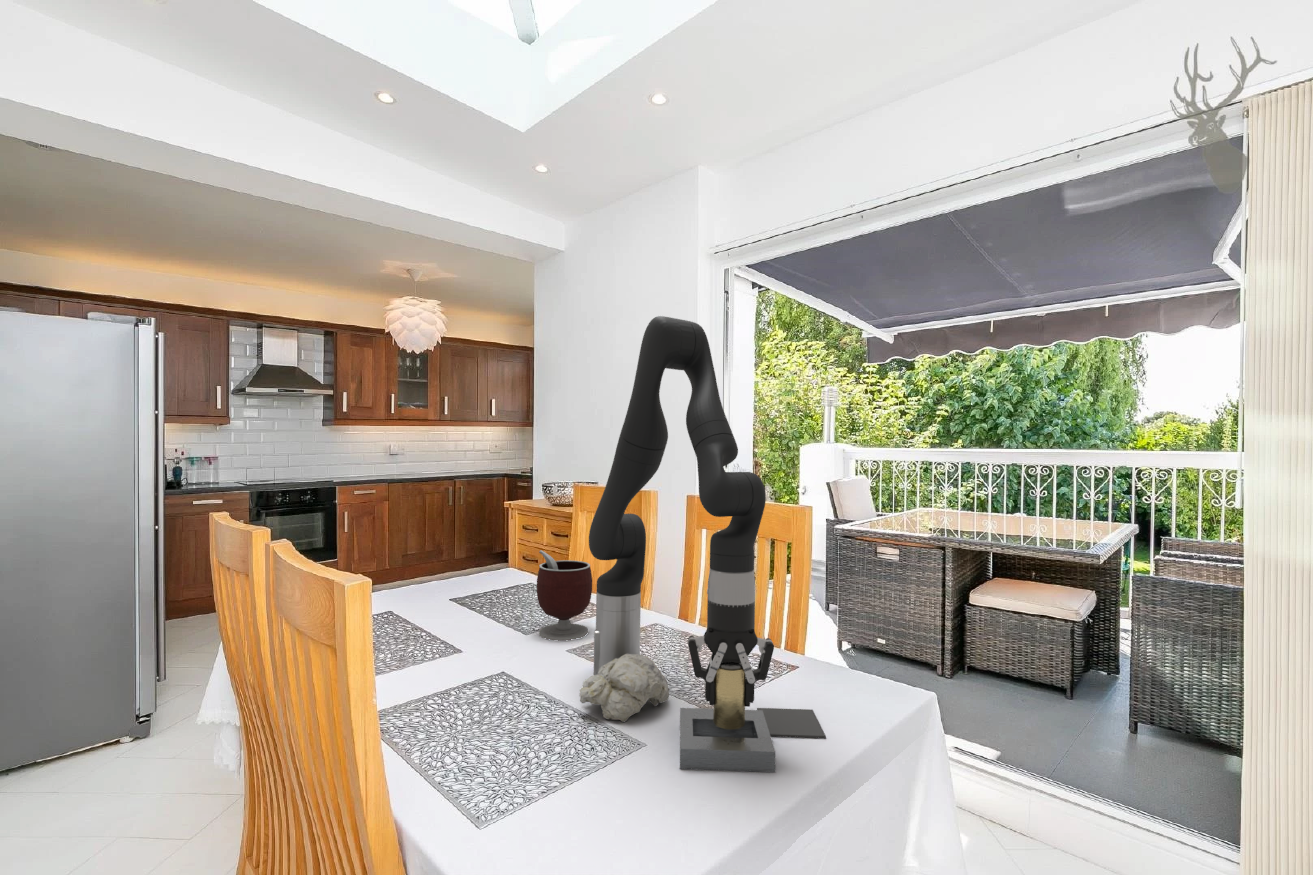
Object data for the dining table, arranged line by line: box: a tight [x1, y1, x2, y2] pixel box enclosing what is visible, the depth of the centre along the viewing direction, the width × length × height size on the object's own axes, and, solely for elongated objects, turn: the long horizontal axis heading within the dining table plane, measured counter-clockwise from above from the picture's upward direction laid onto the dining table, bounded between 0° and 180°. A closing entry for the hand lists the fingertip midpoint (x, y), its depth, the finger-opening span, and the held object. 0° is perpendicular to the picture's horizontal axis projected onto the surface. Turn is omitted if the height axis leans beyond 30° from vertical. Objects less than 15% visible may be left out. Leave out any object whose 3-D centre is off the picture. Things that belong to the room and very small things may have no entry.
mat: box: [756, 707, 827, 739], centre depth 105 cm, size 10×10×1 cm
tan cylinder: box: [713, 661, 746, 729], centre depth 97 cm, size 5×5×10 cm
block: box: [679, 707, 776, 773], centre depth 97 cm, size 14×14×3 cm
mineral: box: [579, 654, 670, 723], centre depth 110 cm, size 12×17×10 cm
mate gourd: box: [536, 550, 593, 642], centre depth 154 cm, size 16×14×20 cm
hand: (729, 703), depth 97 cm, fingers closed on tan cylinder, 5 cm apart
